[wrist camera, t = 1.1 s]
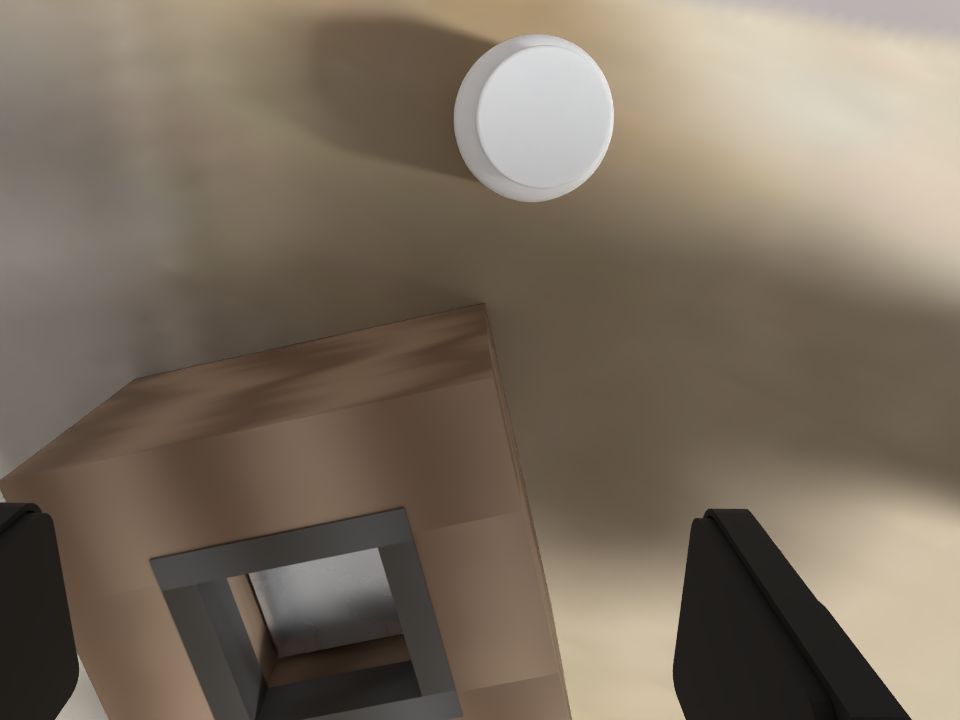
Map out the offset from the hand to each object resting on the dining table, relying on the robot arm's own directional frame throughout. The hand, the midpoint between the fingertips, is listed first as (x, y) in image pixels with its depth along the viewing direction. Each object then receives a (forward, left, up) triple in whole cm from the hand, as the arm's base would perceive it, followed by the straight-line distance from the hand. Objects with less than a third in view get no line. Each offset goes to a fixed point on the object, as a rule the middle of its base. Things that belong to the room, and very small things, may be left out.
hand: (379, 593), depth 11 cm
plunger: (+6, +9, -16) cm, 19 cm away
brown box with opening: (+6, +9, -22) cm, 24 cm away
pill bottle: (-5, -6, -22) cm, 23 cm away
